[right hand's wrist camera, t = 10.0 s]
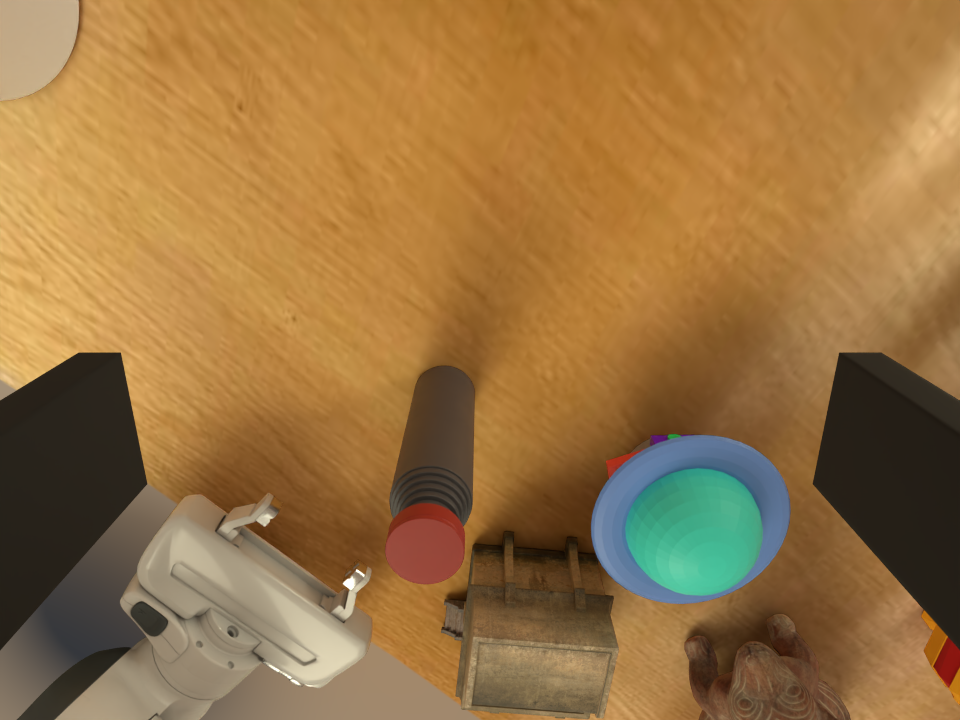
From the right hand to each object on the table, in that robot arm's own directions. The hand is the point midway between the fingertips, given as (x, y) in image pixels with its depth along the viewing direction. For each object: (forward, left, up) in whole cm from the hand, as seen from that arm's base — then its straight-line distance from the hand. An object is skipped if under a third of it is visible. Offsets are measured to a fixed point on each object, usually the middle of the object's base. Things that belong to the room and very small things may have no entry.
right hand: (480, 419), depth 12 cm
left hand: (-6, +29, -35) cm, 46 cm away
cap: (-8, +15, -19) cm, 26 cm away
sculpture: (-48, +21, -41) cm, 66 cm away
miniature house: (-26, +29, -41) cm, 56 cm away
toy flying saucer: (-27, +10, -41) cm, 50 cm away
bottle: (-8, +16, -41) cm, 44 cm away
